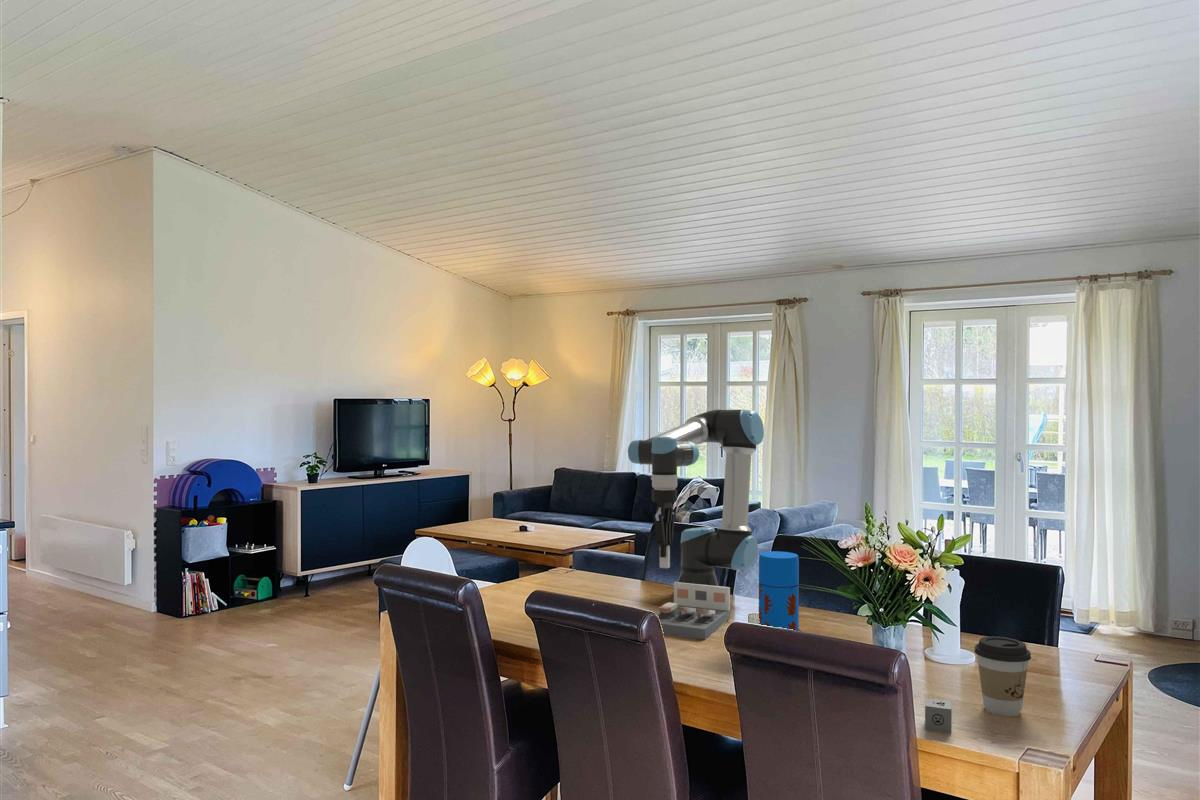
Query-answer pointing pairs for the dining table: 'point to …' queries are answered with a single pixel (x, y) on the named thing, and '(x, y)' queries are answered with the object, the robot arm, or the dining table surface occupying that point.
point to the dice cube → (938, 715)
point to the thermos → (779, 589)
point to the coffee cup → (1002, 674)
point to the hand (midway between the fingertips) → (664, 567)
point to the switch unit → (699, 599)
